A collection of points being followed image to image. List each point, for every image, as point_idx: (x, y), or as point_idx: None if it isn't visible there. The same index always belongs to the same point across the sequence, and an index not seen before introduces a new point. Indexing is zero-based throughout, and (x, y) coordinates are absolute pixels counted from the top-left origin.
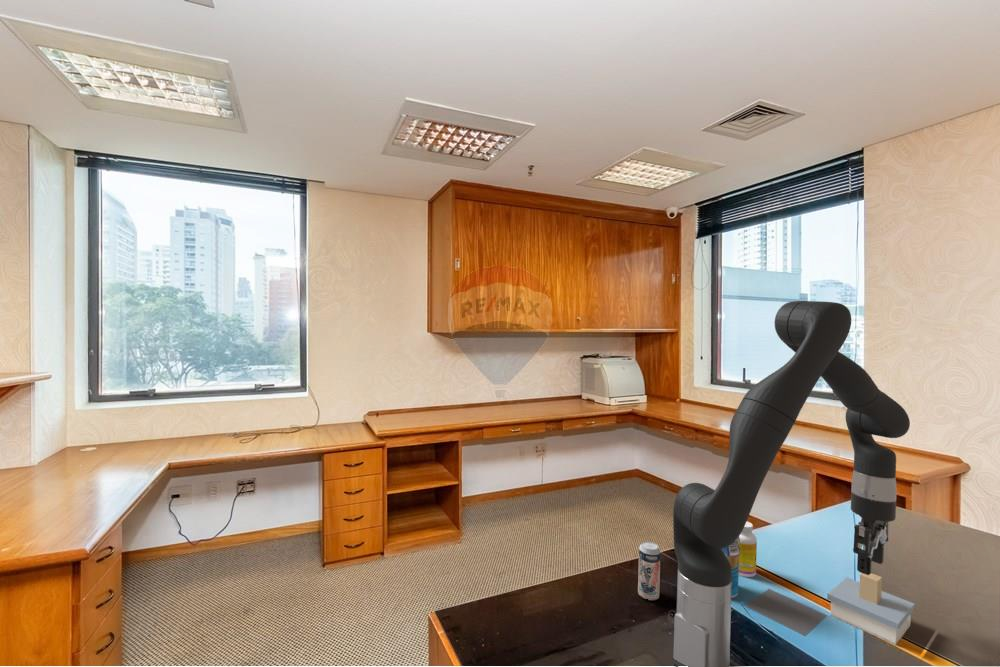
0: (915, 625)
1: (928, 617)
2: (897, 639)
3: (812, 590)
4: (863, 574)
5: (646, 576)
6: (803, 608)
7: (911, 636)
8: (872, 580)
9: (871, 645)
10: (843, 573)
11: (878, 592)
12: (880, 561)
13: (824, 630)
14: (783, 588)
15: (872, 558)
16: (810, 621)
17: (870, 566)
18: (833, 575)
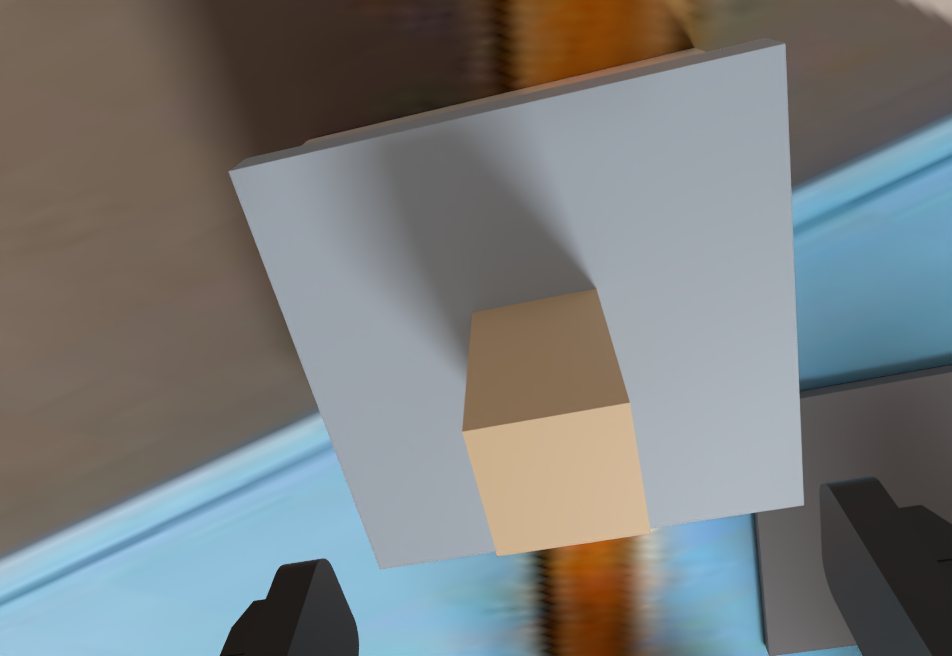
0: (246, 136)
1: (36, 153)
2: (651, 64)
3: (512, 571)
4: (606, 524)
5: None
6: (808, 492)
7: (426, 74)
8: (634, 434)
9: (829, 127)
10: (115, 604)
11: (562, 341)
12: (323, 587)
13: (925, 331)
14: (661, 632)
15: (345, 650)
16: (929, 407)
17: (921, 560)
18: (205, 611)
